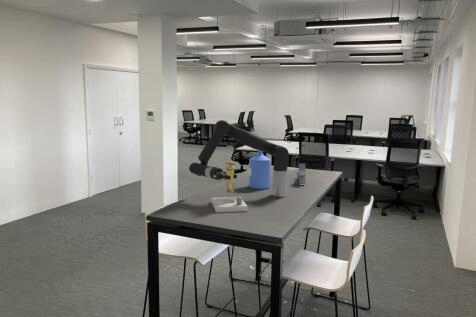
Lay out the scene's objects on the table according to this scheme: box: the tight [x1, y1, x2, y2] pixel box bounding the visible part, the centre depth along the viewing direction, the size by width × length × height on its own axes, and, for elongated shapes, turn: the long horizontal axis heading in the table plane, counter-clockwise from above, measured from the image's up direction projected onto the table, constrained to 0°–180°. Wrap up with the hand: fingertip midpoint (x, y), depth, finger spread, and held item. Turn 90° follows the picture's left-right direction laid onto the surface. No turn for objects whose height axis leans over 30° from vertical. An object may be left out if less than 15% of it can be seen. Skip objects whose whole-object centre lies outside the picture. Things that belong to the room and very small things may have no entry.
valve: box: [225, 162, 236, 193], centre depth 227 cm, size 6×5×17 cm
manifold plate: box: [211, 196, 248, 213], centre depth 228 cm, size 22×18×7 cm
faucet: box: [296, 163, 307, 185], centre depth 301 cm, size 6×17×30 cm
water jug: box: [248, 150, 272, 190], centre depth 281 cm, size 16×16×28 cm
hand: (233, 177), depth 225 cm, fingers closed on valve, 4 cm apart
